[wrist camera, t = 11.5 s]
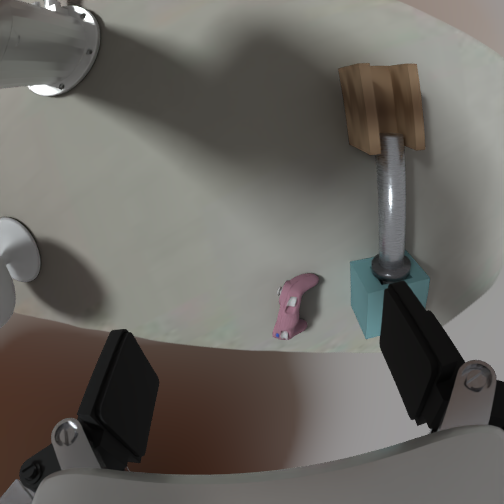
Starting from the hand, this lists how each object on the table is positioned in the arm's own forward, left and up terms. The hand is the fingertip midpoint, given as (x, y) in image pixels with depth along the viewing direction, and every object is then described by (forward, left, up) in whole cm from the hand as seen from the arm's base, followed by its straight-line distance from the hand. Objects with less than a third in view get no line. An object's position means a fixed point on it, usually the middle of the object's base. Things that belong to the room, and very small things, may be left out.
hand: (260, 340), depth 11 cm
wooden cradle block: (-5, +16, -28) cm, 33 cm away
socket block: (+20, +16, -28) cm, 38 cm away
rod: (+11, +16, -27) cm, 33 cm away
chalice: (+3, -40, -28) cm, 49 cm away
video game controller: (+20, +3, -29) cm, 35 cm away
